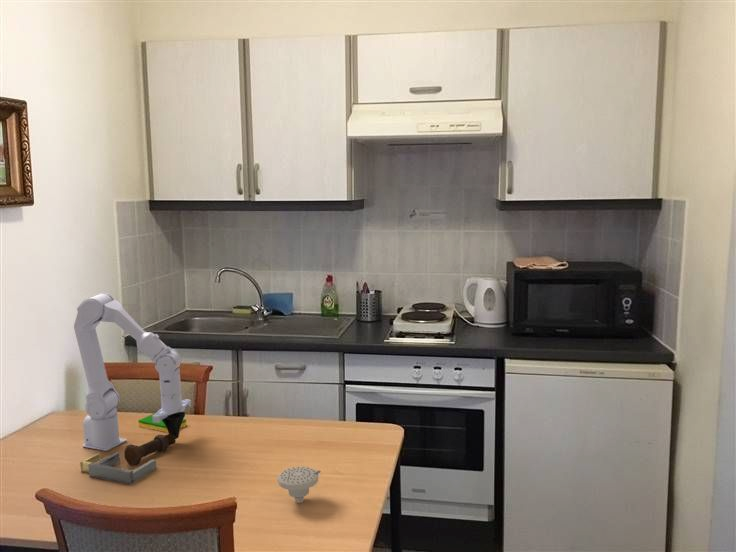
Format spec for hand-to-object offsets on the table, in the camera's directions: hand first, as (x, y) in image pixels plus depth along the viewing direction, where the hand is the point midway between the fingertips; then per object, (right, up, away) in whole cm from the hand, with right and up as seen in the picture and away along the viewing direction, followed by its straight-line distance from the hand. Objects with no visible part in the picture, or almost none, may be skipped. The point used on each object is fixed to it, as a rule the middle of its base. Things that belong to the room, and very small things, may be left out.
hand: (174, 437), depth 190 cm
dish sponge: (-8, 0, +14) cm, 16 cm away
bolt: (-4, -3, -8) cm, 9 cm away
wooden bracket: (-16, -4, -15) cm, 23 cm away
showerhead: (+40, -6, -36) cm, 54 cm away
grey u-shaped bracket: (-8, -5, -18) cm, 20 cm away
